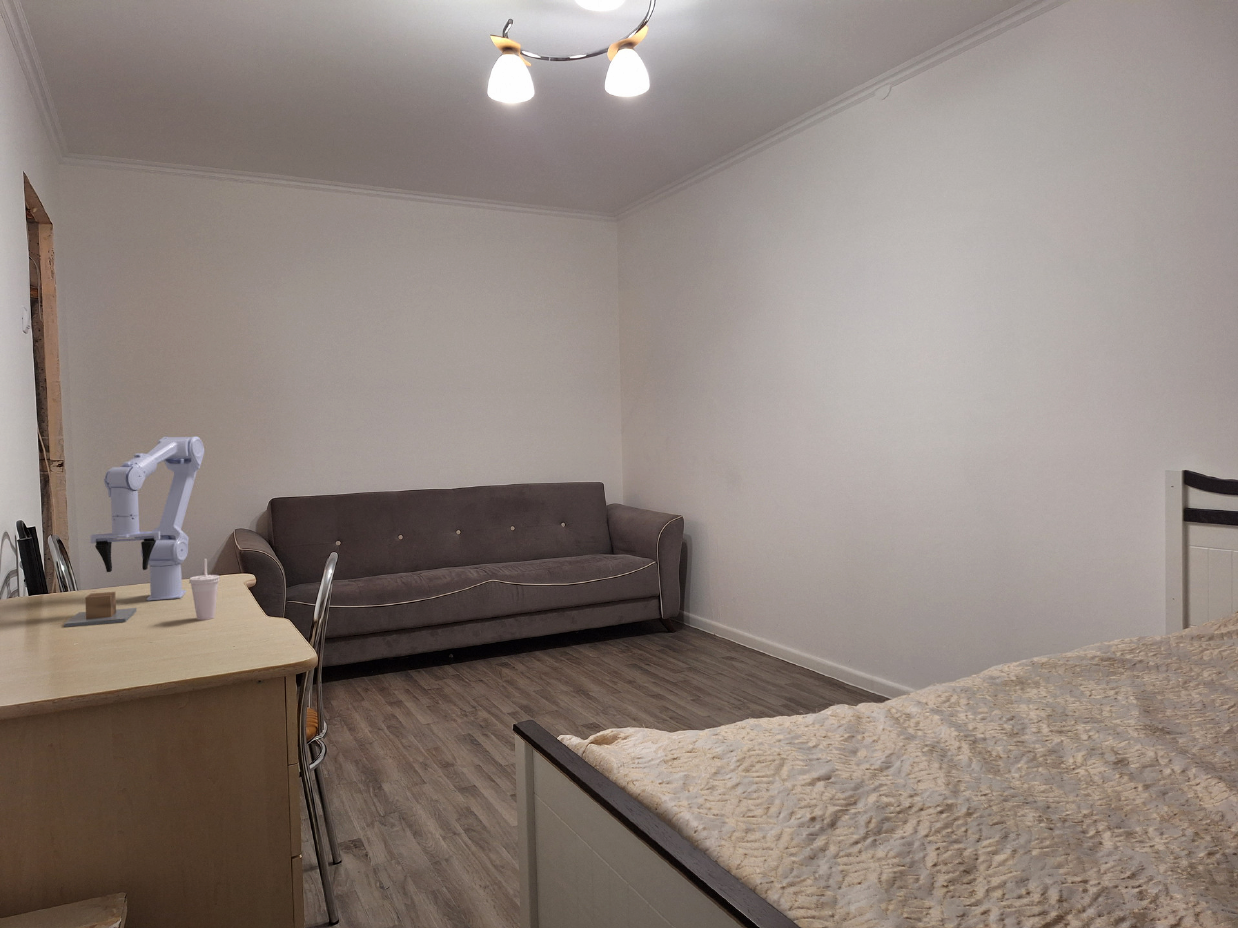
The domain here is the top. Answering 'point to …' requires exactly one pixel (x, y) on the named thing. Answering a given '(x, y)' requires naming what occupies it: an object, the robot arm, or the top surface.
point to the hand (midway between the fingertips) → (127, 570)
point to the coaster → (118, 617)
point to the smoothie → (204, 594)
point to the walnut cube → (100, 605)
